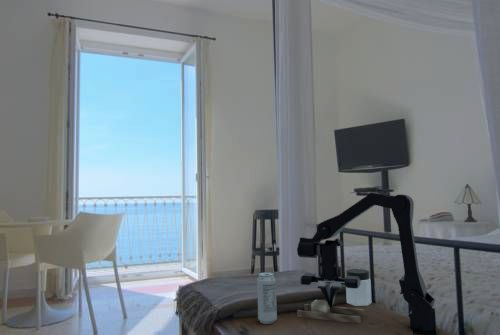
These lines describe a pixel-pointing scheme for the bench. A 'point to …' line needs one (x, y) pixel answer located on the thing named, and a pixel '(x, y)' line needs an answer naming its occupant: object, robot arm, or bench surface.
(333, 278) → the robot arm
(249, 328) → the bench surface
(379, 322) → the bench surface
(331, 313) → the chute
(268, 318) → the energy drink can
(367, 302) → the jar
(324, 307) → the block
